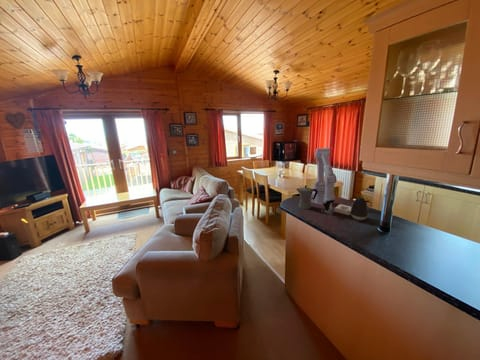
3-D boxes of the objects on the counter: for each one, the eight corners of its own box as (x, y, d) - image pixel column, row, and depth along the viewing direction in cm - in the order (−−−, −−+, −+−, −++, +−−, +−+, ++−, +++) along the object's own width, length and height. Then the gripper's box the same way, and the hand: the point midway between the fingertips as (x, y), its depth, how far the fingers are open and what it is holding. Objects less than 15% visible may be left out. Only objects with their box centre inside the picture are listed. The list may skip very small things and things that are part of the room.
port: (334, 211, 146) (334, 207, 146) (339, 207, 153) (340, 203, 152) (349, 215, 139) (349, 211, 138) (354, 211, 146) (354, 207, 145)
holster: (320, 212, 147) (320, 209, 146) (324, 209, 151) (324, 206, 150) (331, 215, 141) (331, 212, 141) (335, 212, 145) (335, 209, 144)
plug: (324, 211, 146) (325, 202, 144) (326, 210, 148) (327, 200, 146) (329, 213, 143) (329, 203, 141) (331, 211, 146) (332, 201, 144)
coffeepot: (295, 209, 154) (295, 186, 150) (296, 204, 163) (297, 183, 158) (316, 211, 149) (318, 188, 144) (316, 206, 158) (318, 184, 153)
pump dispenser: (363, 223, 128) (366, 201, 124) (346, 218, 136) (349, 197, 132) (370, 218, 134) (373, 197, 130) (354, 213, 142) (356, 193, 138)
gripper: (330, 195, 134) (329, 214, 138) (339, 190, 144) (337, 207, 147) (320, 193, 139) (319, 211, 143) (329, 188, 149) (328, 205, 152)
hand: (328, 209), depth 145 cm, fingers closed on plug, 3 cm apart
